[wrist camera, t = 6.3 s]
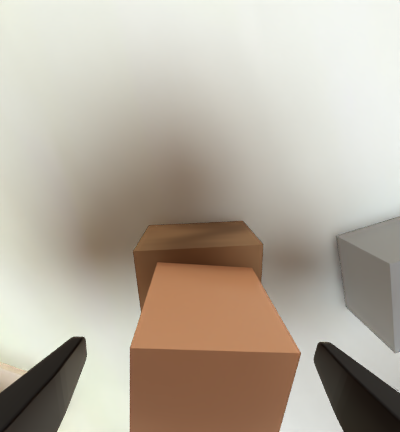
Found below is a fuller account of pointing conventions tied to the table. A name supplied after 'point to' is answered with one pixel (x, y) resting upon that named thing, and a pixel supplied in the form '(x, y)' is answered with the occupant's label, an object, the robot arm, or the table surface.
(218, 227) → the walnut block
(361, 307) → the slate block
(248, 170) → the table surface
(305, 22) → the table surface
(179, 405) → the terracotta cube
